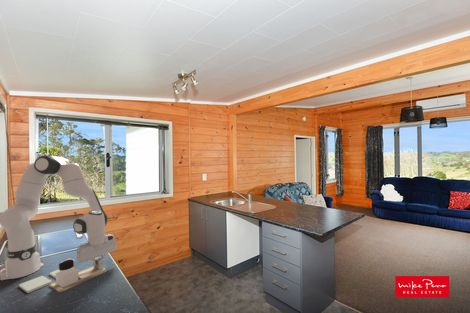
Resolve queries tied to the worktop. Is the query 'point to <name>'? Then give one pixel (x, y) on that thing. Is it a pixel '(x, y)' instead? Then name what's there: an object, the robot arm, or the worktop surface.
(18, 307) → the worktop surface
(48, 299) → the worktop surface
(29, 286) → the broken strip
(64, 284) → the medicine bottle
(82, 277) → the birch strip
